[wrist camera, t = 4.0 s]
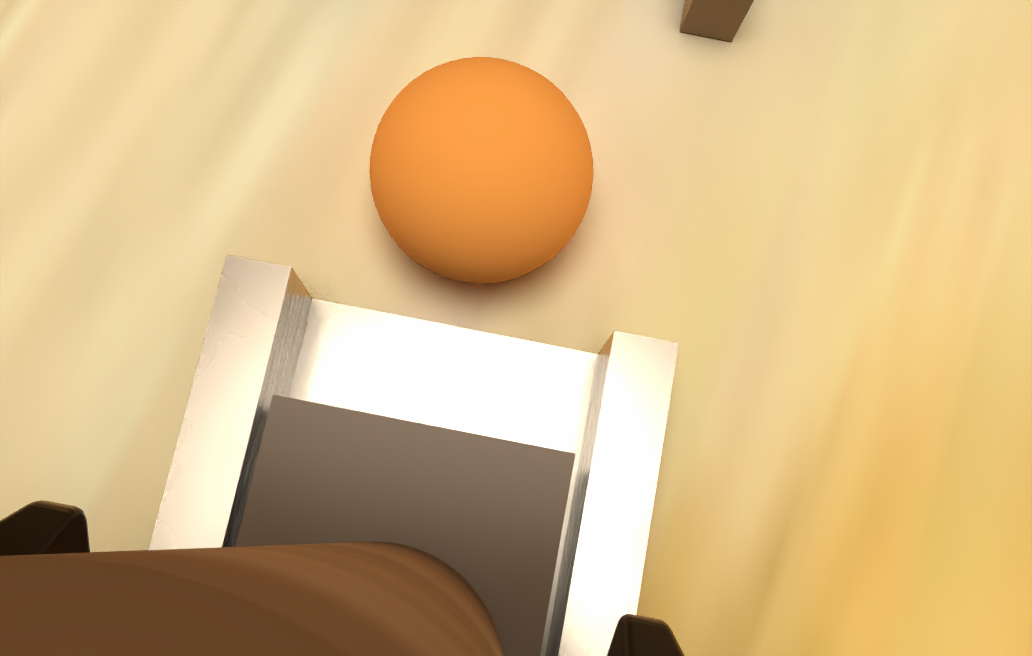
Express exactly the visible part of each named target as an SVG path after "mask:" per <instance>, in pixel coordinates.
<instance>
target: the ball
mask: <svg viewBox="0 0 1032 656" xmlns="http://www.w3.org/2000/svg"><path fill="white" fill-rule="evenodd" d="M370 181H371V189H372V195H373V199H374V202H375V206H376V208H377V211H378V213H379V216H380V218H381V220H382V222H383V224H384V226H385V227H386V229H387V231H388V232H389V234H390V236H391V237H392V238H393V239H394V241H395V242H396V243H397V244H398V246H399V247H400V248H401V249H402V250H403V251H404V252H405V253H406V254H407V255H408V256H410V257H411V258H412V259H414V260H415V261H416V262H418V263H419V264H420V265H422V266H424V267H425V268H427V269H429V270H431V271H432V272H434V273H437V274H439V275H442V276H444V277H447V278H450V279H454V280H458V281H462V282H469V283H495V282H503V281H506V280H510V279H514V278H517V277H520V276H522V275H525V274H527V273H530V272H531V271H533V270H535V269H537V268H538V267H540V266H542V265H544V264H545V263H546V262H548V261H549V260H550V259H552V258H553V257H554V256H555V255H556V254H557V253H558V252H559V251H560V250H561V249H562V248H564V246H565V245H566V244H567V243H568V241H569V240H570V239H571V238H572V236H573V235H574V233H575V231H576V230H577V228H578V226H579V224H580V223H581V221H582V219H583V217H584V214H585V212H586V209H587V207H588V203H589V199H590V195H591V190H592V181H593V159H592V153H591V147H590V142H589V139H588V136H587V132H586V129H585V127H584V125H583V123H582V121H581V118H580V116H579V115H578V113H577V112H576V110H575V109H574V107H573V105H572V104H571V102H570V101H569V100H568V99H567V98H566V96H565V95H564V94H563V93H562V92H561V91H560V90H559V89H558V88H557V87H556V86H555V85H554V84H553V83H552V82H550V81H549V80H548V79H546V78H545V77H543V76H542V75H541V74H539V73H537V72H535V71H533V70H531V69H530V68H527V67H525V66H522V65H520V64H517V63H515V62H511V61H507V60H503V59H497V58H490V57H473V58H464V59H459V60H455V61H450V62H447V63H444V64H442V65H439V66H436V67H434V68H432V69H430V70H428V71H426V72H424V73H423V74H421V75H420V76H418V77H417V78H416V79H414V80H413V81H411V82H410V83H409V84H408V85H407V86H406V87H405V88H404V89H403V90H402V91H401V92H400V93H399V94H398V95H397V97H396V98H395V99H394V100H393V101H392V103H391V104H390V106H389V107H388V109H387V110H386V112H385V113H384V115H383V117H382V119H381V121H380V123H379V126H378V128H377V131H376V134H375V138H374V141H373V144H372V150H371V156H370Z"/></svg>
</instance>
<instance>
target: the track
mask: <svg viewBox="0 0 1032 656" xmlns="http://www.w3.org/2000/svg"><path fill="white" fill-rule="evenodd" d="M678 346H679V343H677V342H671V341H666V340H661V339H656V338H651V337H646V336H641V335H636V334H631V333H626V332H620V331H615V330H614V332H613V333H612V335H611V336H610V337H609V339H608V340H607V342H606V343H605V345H604V346H603V348H602V349H601V350H600V352H599V353H598V354H594V353H589V352H584V351H579V350H574V349H568V348H563V347H558V346H553V345H548V344H543V343H538V342H533V341H528V340H522V339H517V338H512V337H507V336H502V335H497V334H492V333H487V332H482V331H477V330H471V329H466V328H461V327H456V326H451V325H446V324H441V323H436V322H431V321H425V320H420V319H415V318H410V317H405V316H400V315H395V314H390V313H385V312H379V311H374V310H369V309H364V308H359V307H354V306H349V305H344V304H339V303H334V302H328V301H323V300H318V299H313V298H312V297H311V296H310V294H309V293H308V291H307V290H306V288H305V287H304V285H303V284H302V282H301V281H300V279H299V278H298V276H297V275H296V273H295V272H294V270H293V268H292V267H289V266H284V265H279V264H273V263H268V262H263V261H258V260H253V259H248V258H243V257H238V256H233V255H228V254H227V256H226V259H225V263H224V267H223V271H222V275H221V278H220V282H219V286H218V290H217V293H216V297H215V301H214V305H213V309H212V312H211V316H210V320H209V324H208V327H207V331H206V335H205V339H204V343H203V346H202V350H201V354H200V358H199V362H198V365H197V369H196V373H195V377H194V380H193V384H192V388H191V392H190V396H189V399H188V403H187V407H186V411H185V414H184V418H183V422H182V426H181V430H180V433H179V437H178V441H177V445H176V448H175V452H174V456H173V460H172V464H171V467H170V471H169V475H168V479H167V482H166V486H165V490H164V494H163V498H162V501H161V505H160V509H159V513H158V516H157V520H156V524H155V528H154V532H153V535H152V539H151V543H150V547H149V550H167V549H192V548H218V547H236V542H237V538H238V534H239V530H240V526H241V522H242V518H243V514H244V510H245V506H246V502H247V498H248V494H249V490H250V486H251V482H252V477H253V473H254V469H255V465H256V461H257V457H258V453H259V449H260V445H261V441H262V437H263V433H264V429H265V425H266V421H267V416H268V412H269V408H270V404H271V400H272V396H273V394H274V395H279V396H284V397H289V398H294V399H299V400H305V401H310V402H315V403H320V404H325V405H330V406H335V407H340V408H346V409H351V410H356V411H361V412H366V413H371V414H376V415H381V416H386V417H392V418H397V419H402V420H407V421H412V422H417V423H422V424H427V425H433V426H438V427H443V428H448V429H453V430H458V431H463V432H468V433H473V434H479V435H484V436H489V437H494V438H499V439H504V440H509V441H514V442H520V443H525V444H530V445H535V446H540V447H545V448H550V449H555V450H560V451H566V452H571V453H576V454H575V460H574V466H573V471H572V477H571V483H570V488H569V494H568V500H567V505H566V511H565V517H564V522H563V528H562V534H561V539H560V545H559V551H558V556H557V562H556V568H555V573H554V579H553V585H552V590H551V596H550V602H549V607H548V613H547V619H546V624H545V630H544V636H543V641H542V647H541V653H540V656H607V653H608V650H609V647H610V644H611V641H612V638H613V635H614V632H615V629H616V626H617V623H618V621H619V619H620V618H621V617H622V616H623V615H625V614H633V615H636V612H637V606H638V600H639V593H640V587H641V580H642V574H643V568H644V561H645V555H646V549H647V542H648V536H649V530H650V523H651V517H652V511H653V504H654V498H655V492H656V485H657V479H658V473H659V466H660V460H661V454H662V447H663V441H664V435H665V428H666V422H667V416H668V409H669V403H670V396H671V390H672V384H673V377H674V371H675V365H676V358H677V352H678Z"/></svg>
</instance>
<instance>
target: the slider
mask: <svg viewBox="0 0 1032 656" xmlns="http://www.w3.org/2000/svg"><path fill="white" fill-rule="evenodd" d="M575 454H576V453H571V452H566V451H560V450H555V449H550V448H545V447H540V446H535V445H530V444H525V443H520V442H514V441H509V440H504V439H499V438H494V437H489V436H484V435H479V434H473V433H468V432H463V431H458V430H453V429H448V428H443V427H438V426H433V425H427V424H422V423H417V422H412V421H407V420H402V419H397V418H392V417H386V416H381V415H376V414H371V413H366V412H361V411H356V410H351V409H346V408H340V407H335V406H330V405H325V404H320V403H315V402H310V401H305V400H299V399H294V398H289V397H284V396H279V395H274V394H273V396H272V400H271V404H270V408H269V412H268V416H267V421H266V425H265V429H264V433H263V437H262V441H261V445H260V449H259V453H258V457H257V461H256V465H255V469H254V473H253V477H252V482H251V486H250V490H249V494H248V498H247V502H246V506H245V510H244V514H243V518H242V522H241V526H240V530H239V534H238V538H237V542H236V547H218V548H192V549H167V550H141V551H115V552H90V553H64V554H39V555H13V556H0V656H540V653H541V647H542V641H543V636H544V630H545V624H546V619H547V613H548V607H549V602H550V596H551V590H552V585H553V579H554V573H555V568H556V562H557V556H558V551H559V545H560V539H561V534H562V528H563V522H564V517H565V511H566V505H567V500H568V494H569V488H570V483H571V477H572V471H573V466H574V460H575Z"/></svg>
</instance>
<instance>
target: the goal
mask: <svg viewBox="0 0 1032 656" xmlns="http://www.w3.org/2000/svg"><path fill="white" fill-rule="evenodd" d="M752 2H753V0H685V4H684V10H683V16H682V21H681V27H680V32H685V33H690V34H695V35H700V36H706V37H711V38H716V39H721V40H726V41H731V42H732V40H733V38H734V36H735V34H736V33H737V31H738V29H739V27H740V25H741V23H742V21H743V19H744V17H745V15H746V14H747V12H748V10H749V8H750V6H751V4H752Z"/></svg>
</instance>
